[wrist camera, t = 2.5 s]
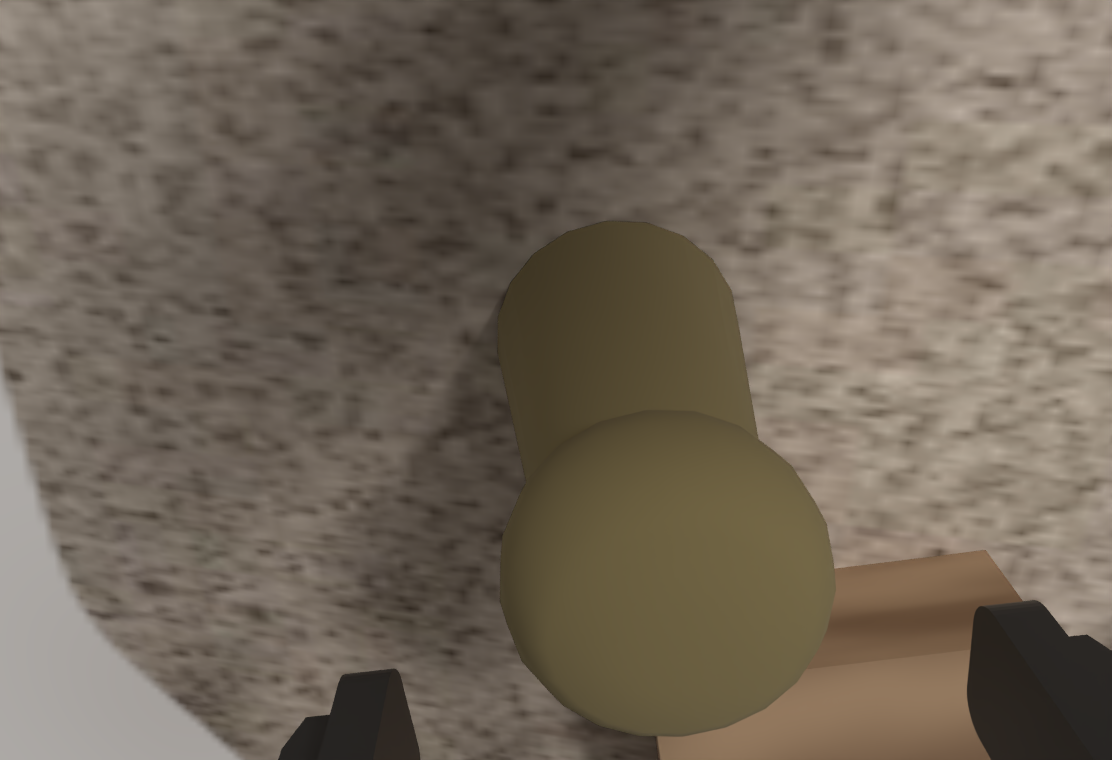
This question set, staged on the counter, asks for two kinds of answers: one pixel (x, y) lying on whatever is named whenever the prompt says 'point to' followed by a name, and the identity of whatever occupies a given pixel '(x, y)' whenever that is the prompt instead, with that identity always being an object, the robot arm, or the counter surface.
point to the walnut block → (876, 672)
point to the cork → (650, 493)
